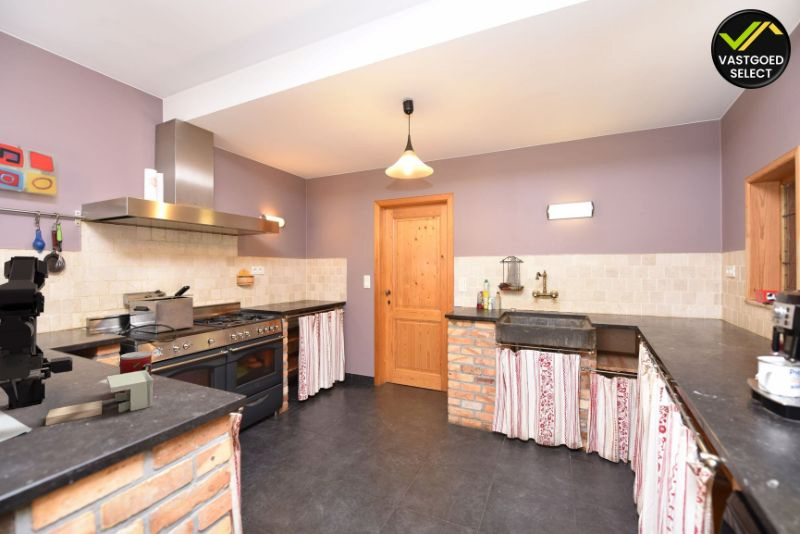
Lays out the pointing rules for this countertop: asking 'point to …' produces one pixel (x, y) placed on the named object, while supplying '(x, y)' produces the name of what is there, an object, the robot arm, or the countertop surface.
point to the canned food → (136, 363)
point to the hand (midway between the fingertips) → (17, 407)
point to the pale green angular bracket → (132, 389)
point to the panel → (74, 412)
